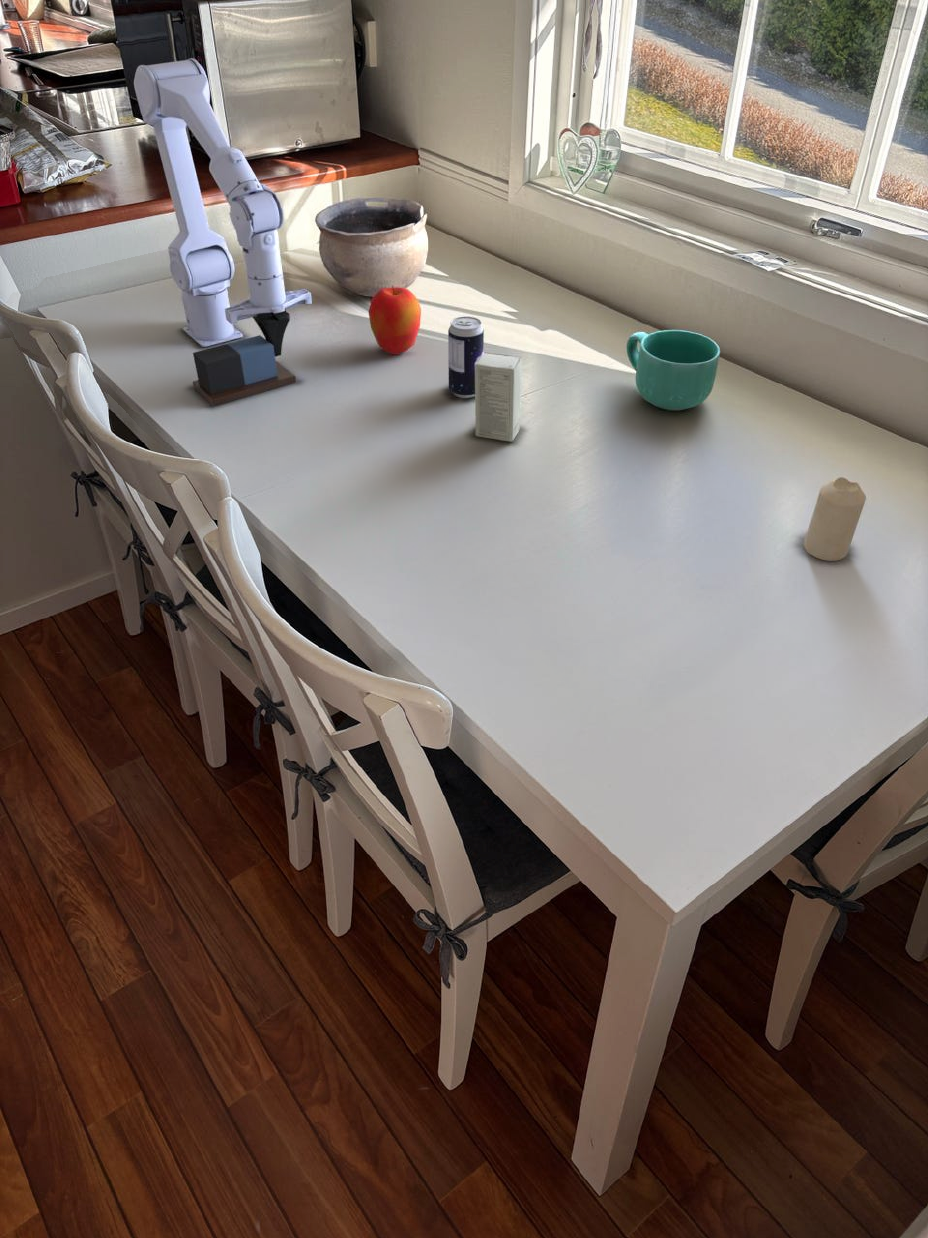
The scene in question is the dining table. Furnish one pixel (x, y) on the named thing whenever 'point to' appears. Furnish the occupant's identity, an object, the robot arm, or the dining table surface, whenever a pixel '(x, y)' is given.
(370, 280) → the ceramic bowl
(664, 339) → the mug
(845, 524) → the candle
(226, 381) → the dark grey cube
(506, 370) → the cosmetic box
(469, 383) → the beverage can
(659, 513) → the dining table surface
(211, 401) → the board
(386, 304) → the apple
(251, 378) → the slate block
